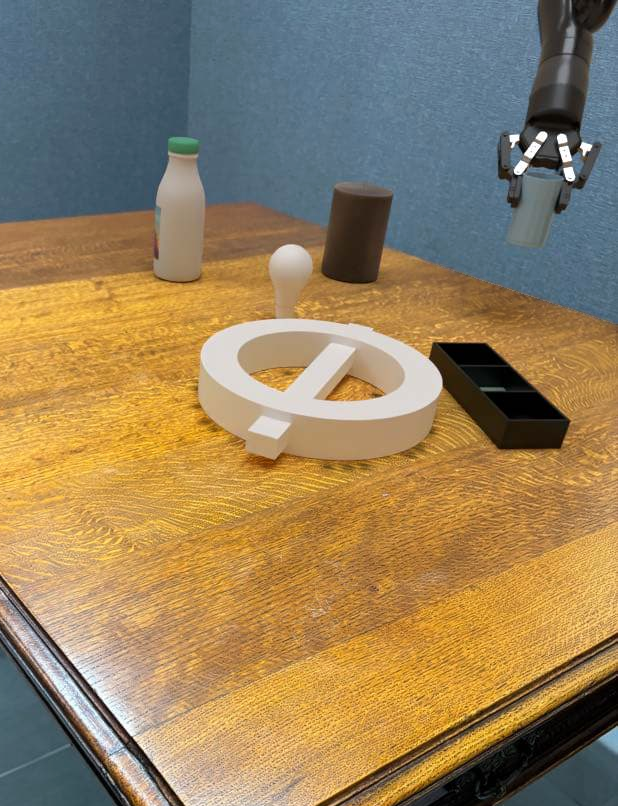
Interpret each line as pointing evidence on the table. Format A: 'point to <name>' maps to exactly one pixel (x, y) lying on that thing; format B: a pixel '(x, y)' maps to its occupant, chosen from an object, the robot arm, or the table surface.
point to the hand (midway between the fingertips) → (536, 207)
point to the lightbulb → (289, 277)
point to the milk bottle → (180, 215)
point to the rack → (498, 397)
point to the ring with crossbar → (317, 389)
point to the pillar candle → (356, 232)
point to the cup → (534, 209)
